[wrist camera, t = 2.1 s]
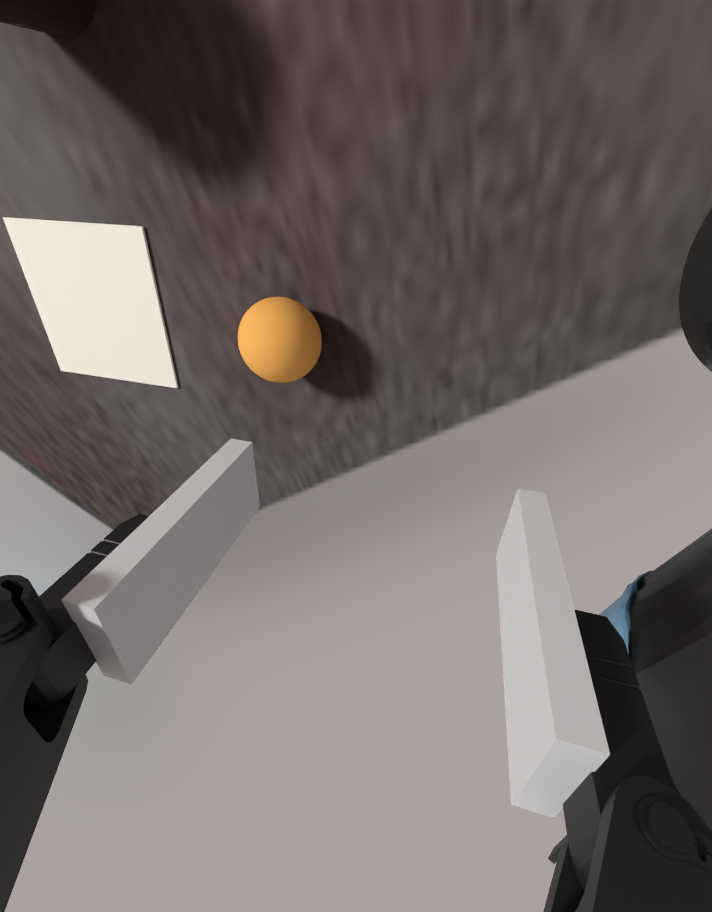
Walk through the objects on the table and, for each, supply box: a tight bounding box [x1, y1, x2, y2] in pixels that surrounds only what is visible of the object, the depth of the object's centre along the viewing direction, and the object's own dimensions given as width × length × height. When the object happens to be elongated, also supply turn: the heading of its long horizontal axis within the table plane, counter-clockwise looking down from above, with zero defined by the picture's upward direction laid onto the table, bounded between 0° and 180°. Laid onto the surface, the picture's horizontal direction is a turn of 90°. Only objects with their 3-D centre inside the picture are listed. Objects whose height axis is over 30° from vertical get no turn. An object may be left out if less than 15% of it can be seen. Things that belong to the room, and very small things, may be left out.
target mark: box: [3, 217, 178, 388], centre depth 32 cm, size 12×12×1 cm
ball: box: [238, 297, 322, 383], centre depth 27 cm, size 6×6×6 cm
